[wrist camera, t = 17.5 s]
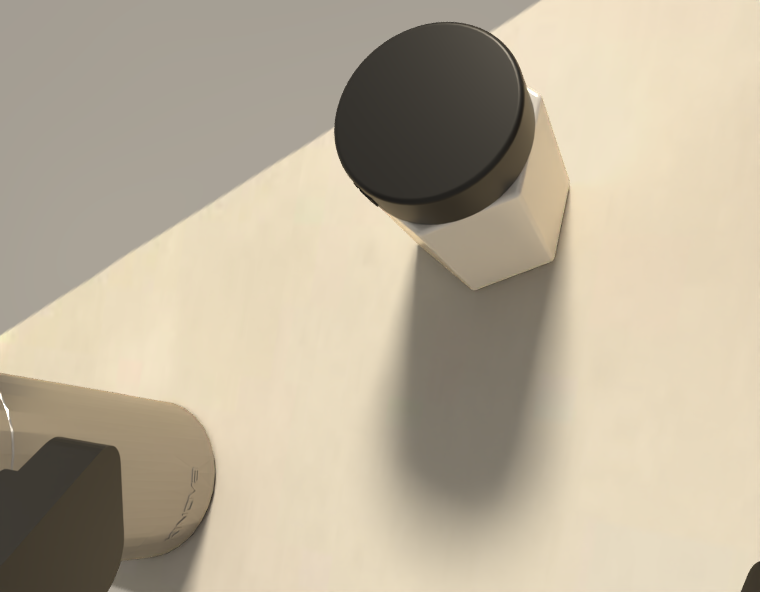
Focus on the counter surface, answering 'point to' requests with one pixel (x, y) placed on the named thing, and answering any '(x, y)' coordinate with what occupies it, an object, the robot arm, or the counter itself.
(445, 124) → the jar
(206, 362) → the counter surface
